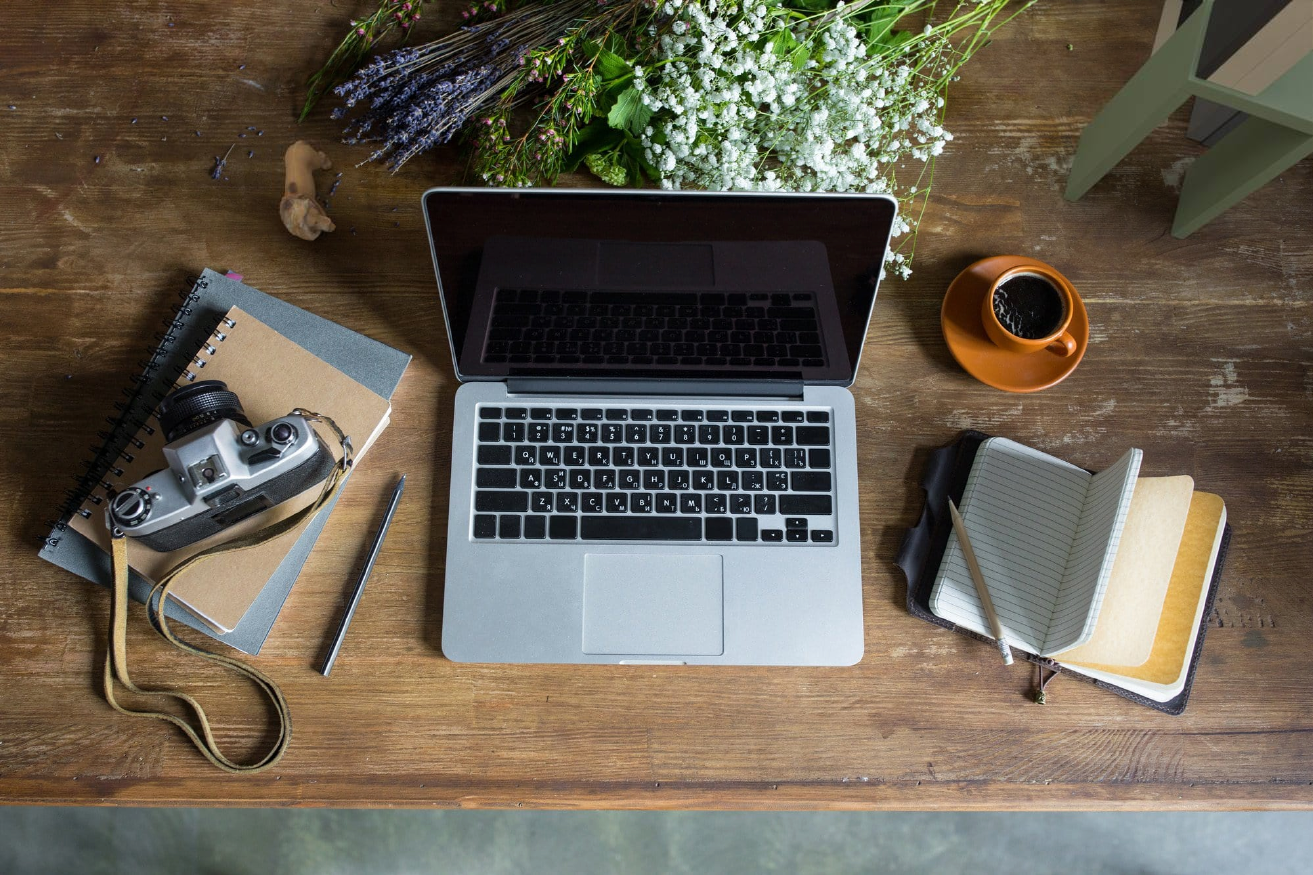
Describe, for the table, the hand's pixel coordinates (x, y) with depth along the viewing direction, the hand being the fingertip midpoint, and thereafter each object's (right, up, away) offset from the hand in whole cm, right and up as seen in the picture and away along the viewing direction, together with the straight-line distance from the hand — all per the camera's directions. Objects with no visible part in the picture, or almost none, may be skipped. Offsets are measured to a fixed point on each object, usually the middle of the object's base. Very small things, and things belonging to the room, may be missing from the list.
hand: (1201, 27), depth 83 cm
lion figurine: (-96, -16, +10) cm, 98 cm away
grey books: (+12, -2, +16) cm, 20 cm away
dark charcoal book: (-2, -6, -7) cm, 10 cm away
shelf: (+1, -12, +14) cm, 18 cm away
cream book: (+2, +3, +8) cm, 9 cm away
